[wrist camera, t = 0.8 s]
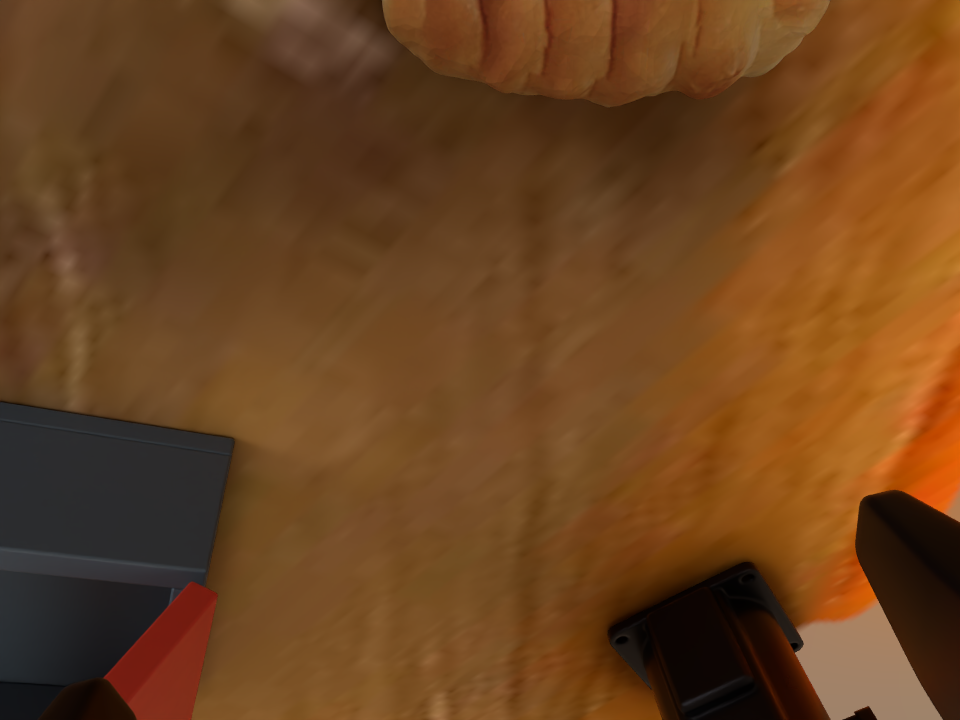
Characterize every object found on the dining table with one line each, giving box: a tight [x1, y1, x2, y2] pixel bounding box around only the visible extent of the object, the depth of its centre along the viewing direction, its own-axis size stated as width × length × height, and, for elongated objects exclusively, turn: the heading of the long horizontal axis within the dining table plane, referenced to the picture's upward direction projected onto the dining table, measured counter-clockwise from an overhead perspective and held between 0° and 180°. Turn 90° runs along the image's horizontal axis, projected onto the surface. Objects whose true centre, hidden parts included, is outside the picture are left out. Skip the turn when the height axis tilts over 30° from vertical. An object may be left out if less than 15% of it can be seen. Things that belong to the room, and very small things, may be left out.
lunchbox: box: [0, 402, 235, 720], centre depth 23 cm, size 10×13×5 cm
